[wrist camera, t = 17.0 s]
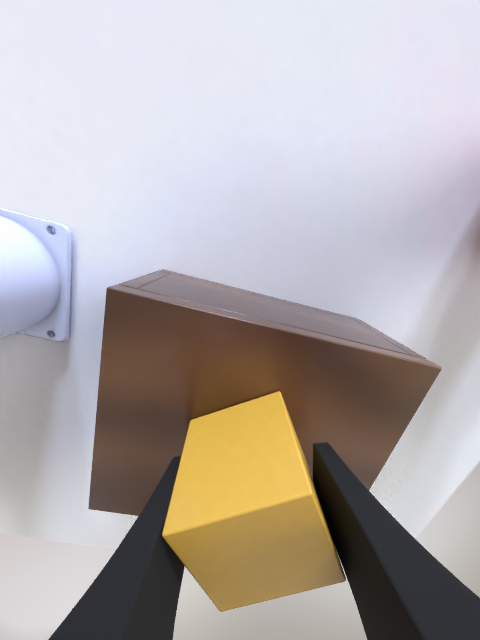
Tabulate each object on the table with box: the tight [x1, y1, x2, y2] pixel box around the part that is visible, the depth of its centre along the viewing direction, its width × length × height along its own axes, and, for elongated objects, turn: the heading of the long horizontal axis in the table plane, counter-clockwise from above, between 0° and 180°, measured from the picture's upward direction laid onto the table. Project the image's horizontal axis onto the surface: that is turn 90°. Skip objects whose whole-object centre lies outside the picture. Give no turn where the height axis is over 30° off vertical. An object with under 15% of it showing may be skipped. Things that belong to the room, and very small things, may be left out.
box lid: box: [89, 285, 441, 516], centre depth 11 cm, size 12×15×1 cm
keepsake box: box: [119, 269, 426, 359], centre depth 15 cm, size 12×15×6 cm
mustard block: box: [162, 391, 346, 612], centre depth 9 cm, size 4×4×4 cm
